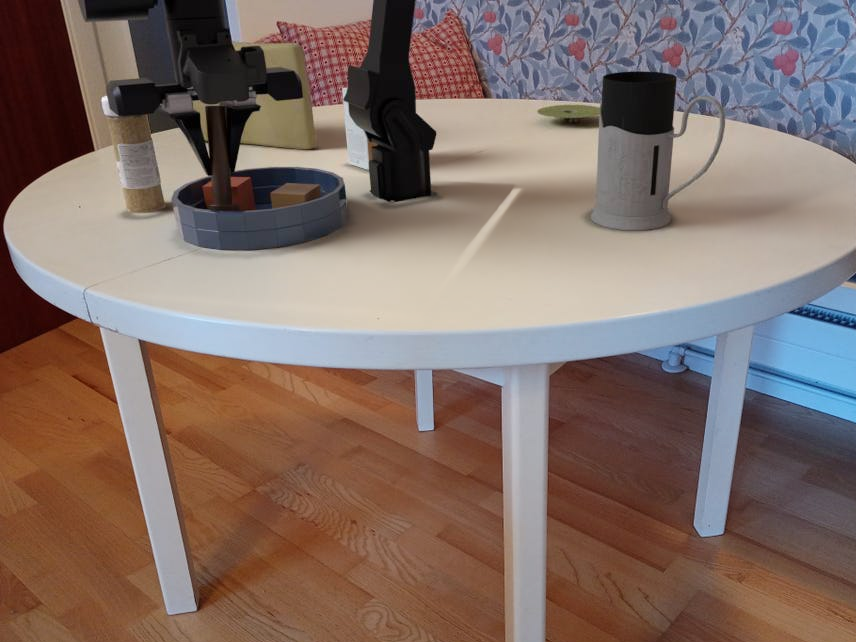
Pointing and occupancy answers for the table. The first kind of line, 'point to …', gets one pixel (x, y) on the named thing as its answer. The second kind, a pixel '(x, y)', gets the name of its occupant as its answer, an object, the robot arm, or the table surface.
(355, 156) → the small box
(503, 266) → the table surface
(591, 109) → the olive green disc
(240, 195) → the terracotta block
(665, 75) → the glass holder
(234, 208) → the stirring stick
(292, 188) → the wood block
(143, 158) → the sprinkles bottle
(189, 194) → the bowl
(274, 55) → the cheese
